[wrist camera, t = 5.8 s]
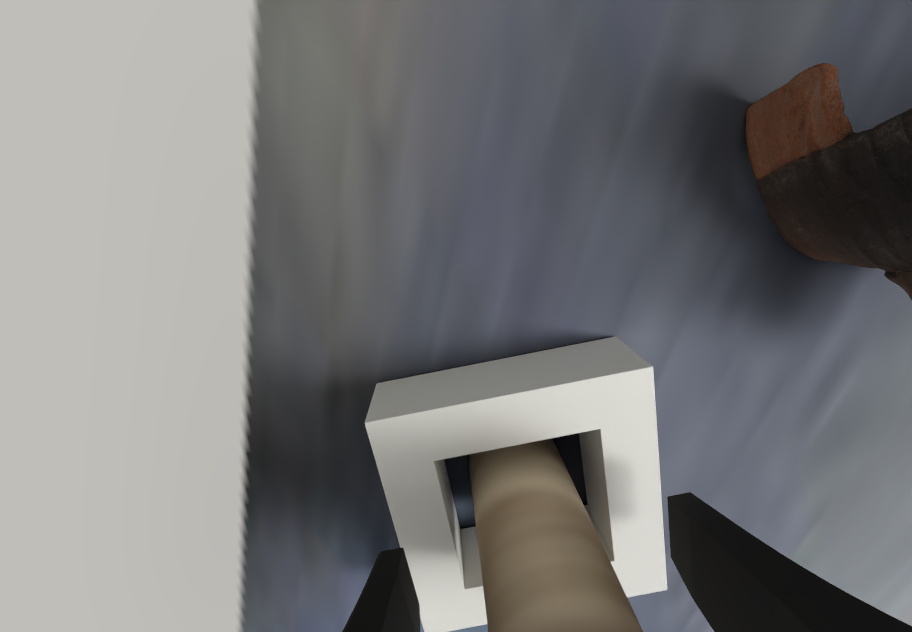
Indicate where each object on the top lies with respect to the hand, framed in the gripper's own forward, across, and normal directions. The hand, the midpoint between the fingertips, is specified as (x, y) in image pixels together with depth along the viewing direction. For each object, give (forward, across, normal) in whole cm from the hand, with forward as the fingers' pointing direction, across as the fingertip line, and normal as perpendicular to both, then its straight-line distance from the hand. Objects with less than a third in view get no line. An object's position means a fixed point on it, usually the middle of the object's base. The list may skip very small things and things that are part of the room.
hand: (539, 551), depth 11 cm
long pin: (+4, 0, 0) cm, 4 cm away
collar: (+4, 0, 0) cm, 4 cm away
